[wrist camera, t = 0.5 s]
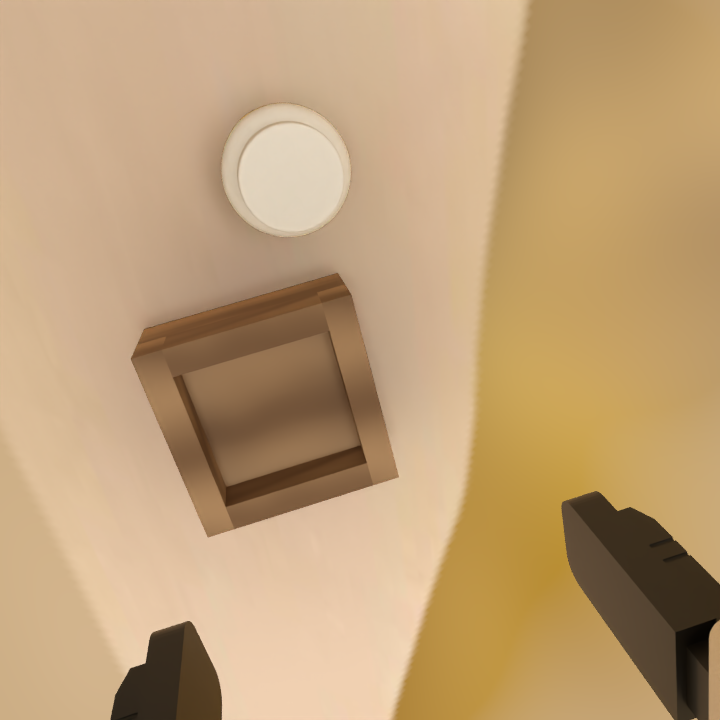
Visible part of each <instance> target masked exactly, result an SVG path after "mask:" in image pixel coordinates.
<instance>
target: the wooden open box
mask: <svg viewBox="0 0 720 720" xmlns="http://www.w3.org/2000/svg"><path fill="white" fill-rule="evenodd" d="M131 361H132V363H133V365H134V367H135V370H136V372H137V374H138V377H139V379H140V381H141V384H142V386H143V388H144V391H145V393H146V395H147V398H148V400H149V402H150V405H151V407H152V409H153V411H154V414H155V416H156V418H157V421H158V423H159V425H160V428H161V430H162V432H163V435H164V437H165V439H166V442H167V444H168V446H169V449H170V451H171V453H172V456H173V458H174V460H175V462H176V465H177V467H178V469H179V472H180V474H181V476H182V479H183V481H184V483H185V486H186V488H187V490H188V493H189V495H190V497H191V500H192V502H193V504H194V506H195V509H196V511H197V513H198V516H199V518H200V520H201V523H202V525H203V527H204V530H205V532H206V534H207V537H211V536H214V535H217V534H220V533H223V532H227V531H230V530H233V529H236V528H239V527H242V526H246V525H249V524H252V523H255V522H258V521H261V520H265V519H268V518H271V517H274V516H277V515H280V514H284V513H287V512H290V511H293V510H296V509H299V508H303V507H306V506H309V505H312V504H315V503H318V502H322V501H325V500H328V499H331V498H334V497H337V496H341V495H344V494H347V493H350V492H353V491H356V490H360V489H363V488H366V487H369V486H372V485H375V484H379V483H382V482H385V481H388V480H391V479H394V478H397V477H399V476H398V472H397V468H396V464H395V460H394V457H393V453H392V449H391V445H390V441H389V437H388V434H387V430H386V426H385V422H384V418H383V415H382V411H381V407H380V403H379V399H378V395H377V392H376V388H375V384H374V380H373V376H372V373H371V369H370V365H369V361H368V357H367V353H366V350H365V346H364V342H363V338H362V334H361V331H360V327H359V323H358V319H357V315H356V311H355V308H354V304H353V300H352V296H351V294H350V292H349V290H348V289H347V287H346V286H345V284H344V282H343V281H342V279H341V277H340V276H339V274H338V273H337V274H334V275H330V276H327V277H323V278H320V279H316V280H313V281H309V282H306V283H303V284H299V285H296V286H292V287H289V288H285V289H282V290H278V291H275V292H271V293H268V294H265V295H261V296H258V297H254V298H251V299H247V300H244V301H240V302H237V303H233V304H230V305H227V306H223V307H220V308H216V309H213V310H209V311H206V312H202V313H199V314H195V315H192V316H189V317H185V318H182V319H178V320H175V321H171V322H168V323H164V324H161V325H157V326H154V327H151V328H147V329H144V331H143V333H142V335H141V338H140V340H139V342H138V344H137V346H136V349H135V351H134V353H133V355H132V358H131Z"/></svg>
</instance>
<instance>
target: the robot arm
mask: <svg viewBox="0 0 720 720" xmlns="http://www.w3.org/2000/svg"><path fill="white" fill-rule="evenodd" d="M562 517H563V525H564V533H565V541H566V550H567V557H568V561H569V565H570V567H571V570H572V572H573V575H574V577H575V579H576V581H577V582H578V584H579V586H580V587H581V588H582V590H583V591H584V593H585V594H586V595H587V597H588V598H589V600H590V601H591V603H592V604H593V605H594V607H595V608H596V610H597V611H598V613H599V614H600V615H601V617H602V618H603V620H604V621H605V622H606V624H607V625H608V627H609V628H610V630H611V631H612V632H613V634H614V635H615V637H616V638H617V639H618V641H619V642H620V643H621V645H622V647H623V648H624V649H625V651H626V652H627V653H628V655H629V656H630V658H631V659H632V661H633V662H634V664H635V665H636V666H637V668H638V669H639V671H640V672H641V673H642V675H643V676H644V678H645V679H646V681H647V682H648V683H649V685H650V686H651V688H652V689H653V690H654V692H655V693H656V695H657V696H658V698H659V699H660V700H661V702H662V703H663V704H664V706H665V707H666V709H667V710H668V712H669V713H670V714H671V716H672V717H673V719H674V720H691V719H694V718H697V719H698V720H720V584H719V583H718V582H717V581H716V580H715V579H714V578H713V577H712V576H711V575H710V574H709V573H708V572H707V571H706V570H705V569H704V568H703V567H702V566H701V565H700V564H699V563H698V562H697V561H696V560H695V559H694V558H693V557H692V556H691V555H690V556H689V555H688V554H687V551H686V550H685V549H684V548H683V547H682V546H681V545H680V544H679V543H678V542H677V541H674V540H673V538H672V536H671V535H670V534H669V533H668V532H667V531H666V530H665V529H664V528H663V527H662V526H661V525H660V524H659V523H658V522H657V521H656V520H655V519H653V518H651V517H649V516H647V515H645V514H643V513H641V512H639V511H637V510H635V509H633V508H631V507H629V508H626V509H623V510H620V511H617V510H616V509H615V508H614V507H613V506H612V505H611V504H610V503H609V502H608V501H607V499H606V498H605V497H604V496H603V495H602V494H601V493H599V492H597V491H595V492H592V493H589V494H585V495H582V496H579V497H577V498H573V499H570V500H567V501H564V502H563V503H562ZM111 720H222V696H221V689H220V683H219V679H218V676H217V673H216V670H215V668H214V666H213V664H212V662H211V660H210V658H209V656H208V654H207V652H206V650H205V647H204V645H203V643H202V641H201V639H200V637H199V635H198V633H197V631H196V629H195V627H194V625H193V624H192V623H191V622H190V621H187V622H184V623H181V624H178V625H174V626H171V627H168V628H165V629H162V630H159V631H156V632H153V633H152V634H151V636H150V640H149V646H148V652H147V659H146V663H145V664H142V665H139V666H136V667H133V668H130V670H129V672H128V674H127V675H126V677H125V679H124V681H123V682H122V684H121V686H120V688H119V689H118V691H117V693H116V695H115V700H114V705H113V710H112V715H111Z"/></svg>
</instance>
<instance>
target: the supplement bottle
mask: <svg viewBox="0 0 720 720" xmlns="http://www.w3.org/2000/svg"><path fill="white" fill-rule="evenodd" d="M221 176H222V182H223V186H224V189H225V193H226V195H227V198H228V200H229V202H230V203H231V205H232V207H233V208H234V210H235V211H236V212H237V213H238V215H239V216H240V217H241V218H242V219H243V220H244V221H245V222H247V223H248V224H249V225H251V226H252V227H254V228H255V229H257V230H259V231H261V232H264V233H266V234H270V235H273V236H278V237H299V236H303V235H307V234H310V233H312V232H315V231H317V230H318V229H320V228H322V227H323V226H325V225H326V224H327V223H328V222H330V221H331V220H332V219H333V218H334V217H335V215H336V214H337V213H338V212H339V210H340V209H341V207H342V205H343V203H344V202H345V200H346V197H347V194H348V191H349V187H350V181H351V164H350V158H349V154H348V151H347V148H346V146H345V143H344V141H343V139H342V137H341V136H340V134H339V133H338V131H337V130H336V129H335V127H334V126H333V125H332V124H331V123H330V122H329V121H328V120H327V119H326V118H324V117H323V116H322V115H320V114H318V113H317V112H315V111H313V110H311V109H309V108H306V107H304V106H301V105H297V104H292V103H274V104H269V105H265V106H262V107H260V108H257V109H255V110H253V111H251V112H249V113H248V114H246V115H245V116H244V117H242V118H241V119H240V121H239V122H238V123H237V124H236V125H235V126H234V128H233V129H232V131H231V133H230V135H229V137H228V139H227V141H226V143H225V146H224V149H223V154H222V160H221Z"/></svg>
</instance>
